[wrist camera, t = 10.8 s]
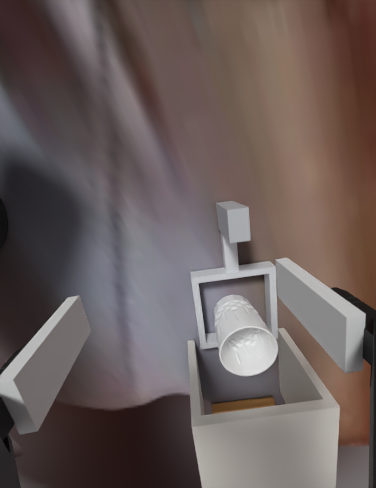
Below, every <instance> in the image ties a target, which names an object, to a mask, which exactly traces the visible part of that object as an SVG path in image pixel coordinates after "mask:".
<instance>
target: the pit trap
mask: <svg viewBox="0 0 376 488" xmlns="http://www.w3.org/2000/svg"><path fill="white" fill-rule="evenodd" d="M211 405H212V412H213V414H217V413H224V412H232V411H239V410H246V409H254V408H261V407H269V406H276V404H275V401H274V399H273V397H272V396H265V397H258V398H251V399H243V400H236V401H228V402H221V403H214V404H211Z"/></svg>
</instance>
